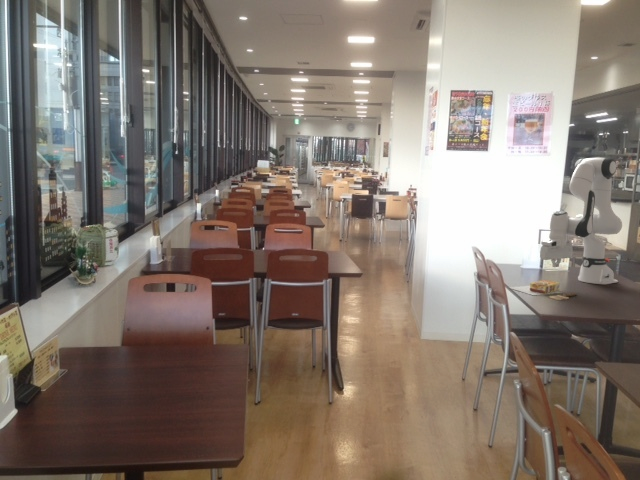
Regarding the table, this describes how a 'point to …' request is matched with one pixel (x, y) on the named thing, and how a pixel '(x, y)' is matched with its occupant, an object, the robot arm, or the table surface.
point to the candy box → (544, 286)
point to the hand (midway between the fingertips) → (555, 266)
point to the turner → (563, 296)
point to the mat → (527, 290)
